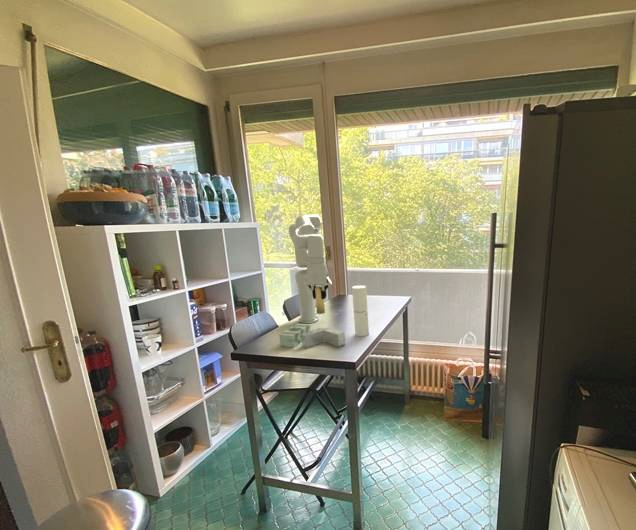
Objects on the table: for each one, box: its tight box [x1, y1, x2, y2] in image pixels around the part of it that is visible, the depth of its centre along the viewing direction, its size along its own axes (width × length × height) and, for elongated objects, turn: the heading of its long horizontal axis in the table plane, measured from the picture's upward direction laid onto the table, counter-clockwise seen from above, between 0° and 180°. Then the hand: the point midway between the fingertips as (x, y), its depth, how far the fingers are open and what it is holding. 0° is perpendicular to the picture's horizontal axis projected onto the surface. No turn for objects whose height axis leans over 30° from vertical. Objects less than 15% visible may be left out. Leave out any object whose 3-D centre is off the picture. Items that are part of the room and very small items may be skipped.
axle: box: [315, 285, 326, 315], centre depth 160 cm, size 4×4×13 cm
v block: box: [301, 327, 346, 349], centre depth 164 cm, size 11×21×6 cm, turn 84°
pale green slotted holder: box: [278, 323, 312, 348], centre depth 171 cm, size 18×8×6 cm, turn 154°
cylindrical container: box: [351, 285, 370, 337], centre depth 172 cm, size 7×7×25 cm
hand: (319, 298), depth 160 cm, fingers closed on axle, 4 cm apart
